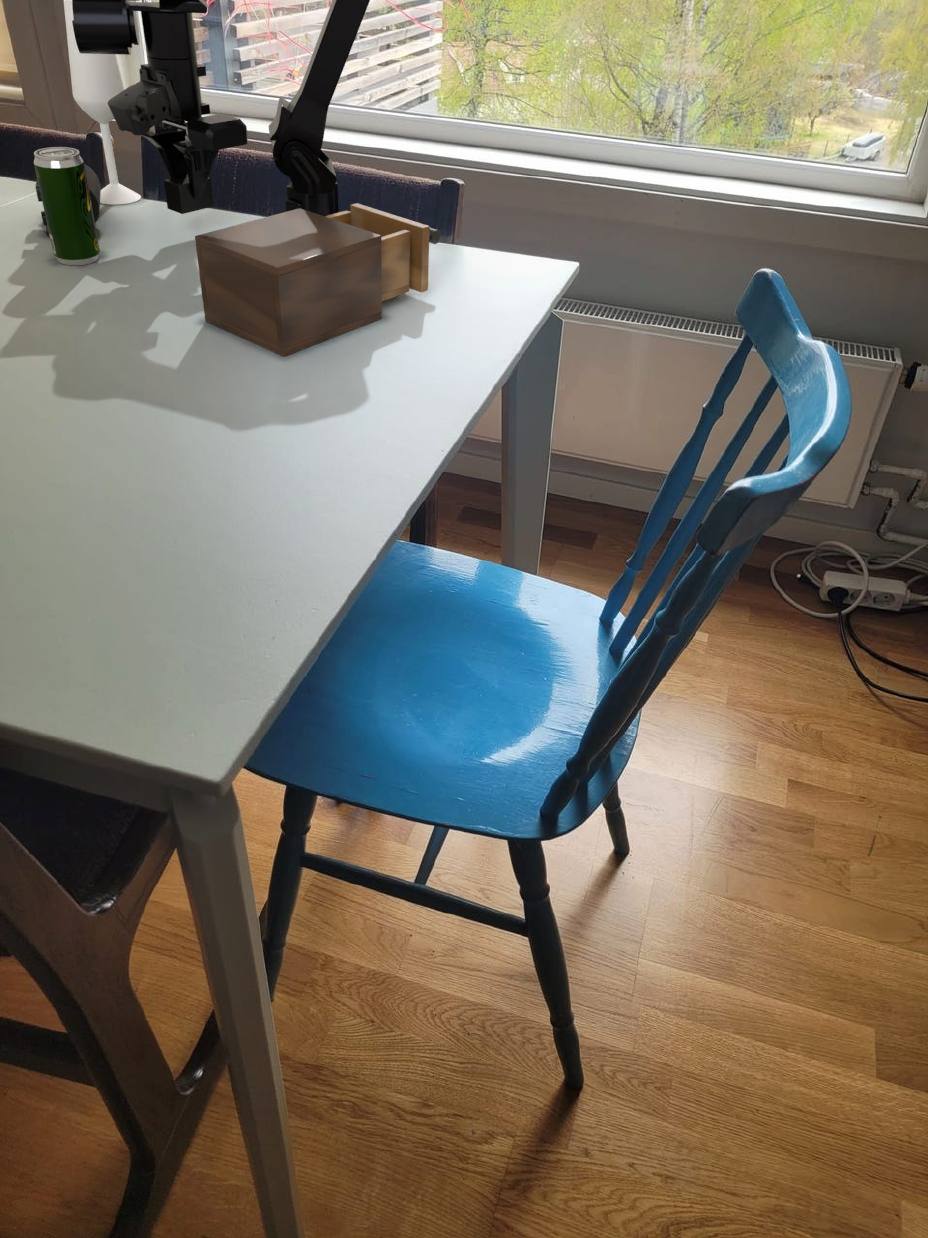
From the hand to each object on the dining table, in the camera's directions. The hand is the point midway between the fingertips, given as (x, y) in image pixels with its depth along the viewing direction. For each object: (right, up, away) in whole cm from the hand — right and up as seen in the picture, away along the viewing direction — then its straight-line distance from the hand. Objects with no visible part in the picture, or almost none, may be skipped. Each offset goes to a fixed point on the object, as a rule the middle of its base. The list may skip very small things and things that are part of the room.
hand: (189, 194), depth 123 cm
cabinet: (+17, -21, -17) cm, 32 cm away
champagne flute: (-14, +6, +14) cm, 21 cm away
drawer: (+24, -15, -11) cm, 30 cm away
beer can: (-12, -11, -6) cm, 17 cm away
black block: (0, -1, +1) cm, 2 cm away
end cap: (-16, -3, +4) cm, 16 cm away
